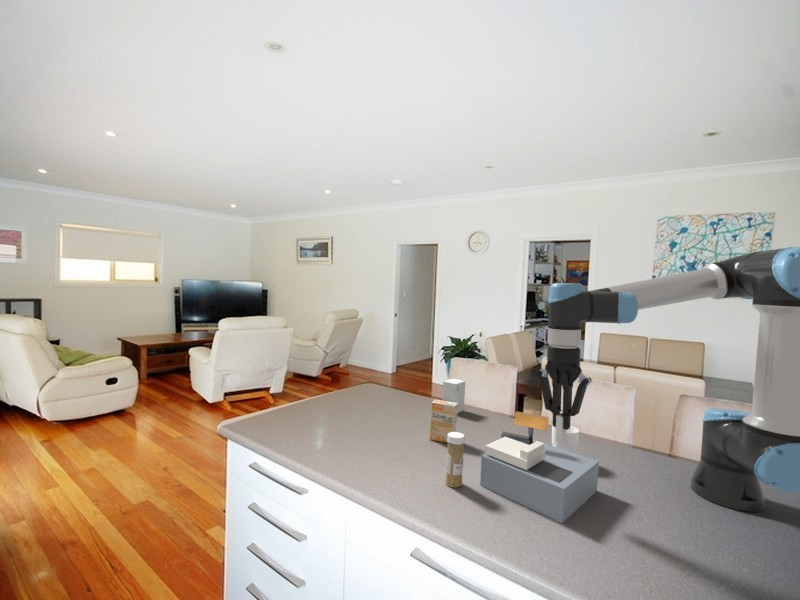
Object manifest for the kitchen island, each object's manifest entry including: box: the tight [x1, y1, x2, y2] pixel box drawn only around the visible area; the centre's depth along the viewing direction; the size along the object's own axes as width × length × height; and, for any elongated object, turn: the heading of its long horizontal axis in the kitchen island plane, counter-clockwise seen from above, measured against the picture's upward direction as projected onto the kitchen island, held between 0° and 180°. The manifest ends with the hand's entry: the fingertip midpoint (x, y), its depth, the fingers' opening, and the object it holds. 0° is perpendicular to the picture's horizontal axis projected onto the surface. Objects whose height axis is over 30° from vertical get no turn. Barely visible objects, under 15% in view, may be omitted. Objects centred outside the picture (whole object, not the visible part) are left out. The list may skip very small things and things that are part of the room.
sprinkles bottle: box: [445, 431, 466, 488], centre depth 104 cm, size 5×5×14 cm
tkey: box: [500, 410, 550, 444], centre depth 113 cm, size 2×12×8 cm, turn 64°
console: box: [479, 439, 600, 524], centre depth 104 cm, size 22×22×8 cm
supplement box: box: [429, 398, 458, 444], centre depth 134 cm, size 8×5×13 cm, turn 68°
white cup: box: [551, 424, 580, 454], centre depth 122 cm, size 8×8×10 cm
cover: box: [484, 437, 546, 470], centre depth 103 cm, size 12×10×4 cm
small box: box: [442, 378, 466, 415], centre depth 165 cm, size 8×6×13 cm
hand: (560, 440), depth 96 cm, fingers closed
